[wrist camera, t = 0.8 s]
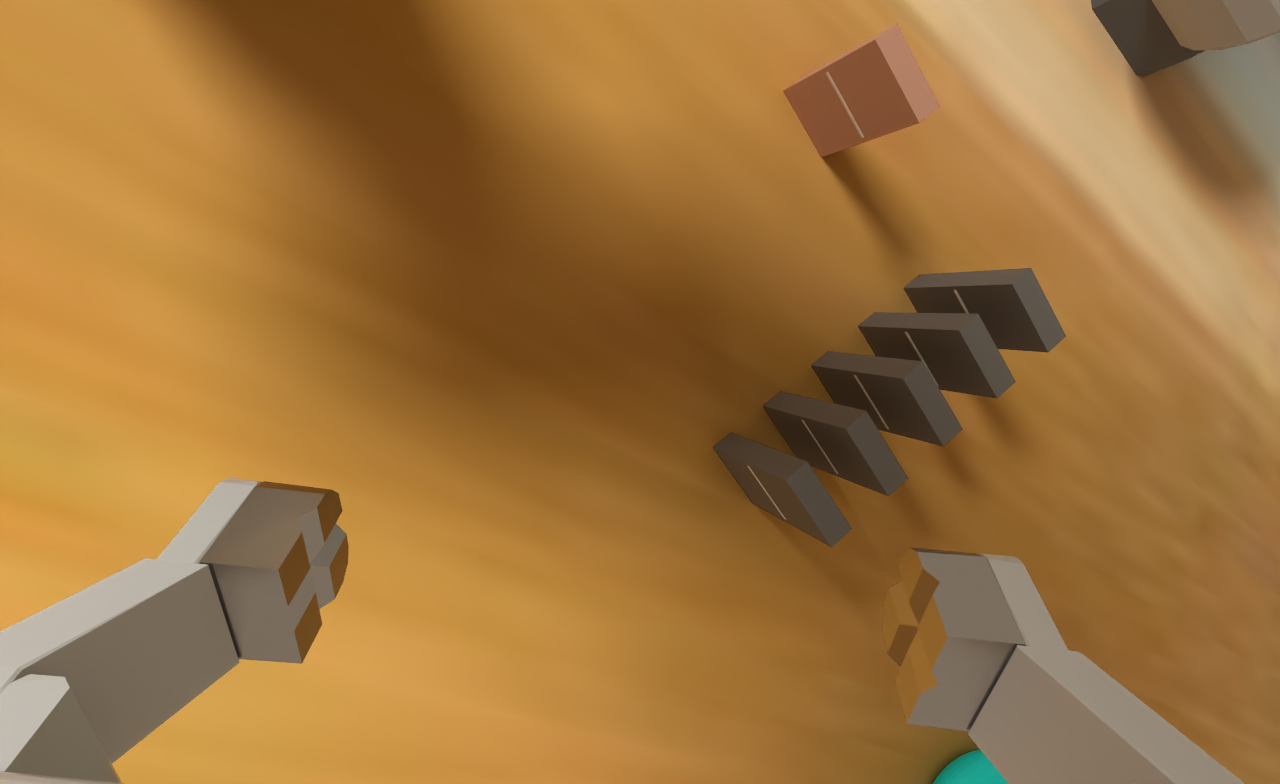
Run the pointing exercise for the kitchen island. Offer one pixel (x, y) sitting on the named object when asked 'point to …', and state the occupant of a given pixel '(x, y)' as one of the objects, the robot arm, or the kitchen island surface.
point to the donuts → (970, 771)
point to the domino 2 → (863, 94)
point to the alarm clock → (1183, 27)
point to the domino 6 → (993, 305)
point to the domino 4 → (837, 441)
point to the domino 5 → (942, 349)
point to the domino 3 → (890, 394)
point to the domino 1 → (783, 487)
